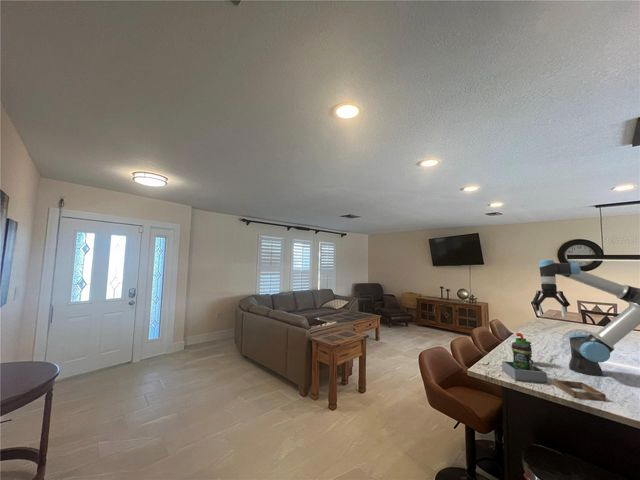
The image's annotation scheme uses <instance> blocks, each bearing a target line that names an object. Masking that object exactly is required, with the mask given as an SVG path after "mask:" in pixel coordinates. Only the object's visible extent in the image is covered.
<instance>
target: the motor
mask: <svg viewBox="0 0 640 480" xmlns="http://www.w3.org/2000/svg"><path fill="white" fill-rule="evenodd" d="M515 333H516V337H517V338H515V342H518V343H523V344H528V345H530V346H531V350H532V345H531V344H532V342H530V341H527V338H524V335H523V334H522V333H520V332H515ZM532 353H533V352H532ZM532 353H531V358H532V357H533V355H532ZM531 362H532V364H533V365H534V361H533V360H532V359H531Z"/></svg>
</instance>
